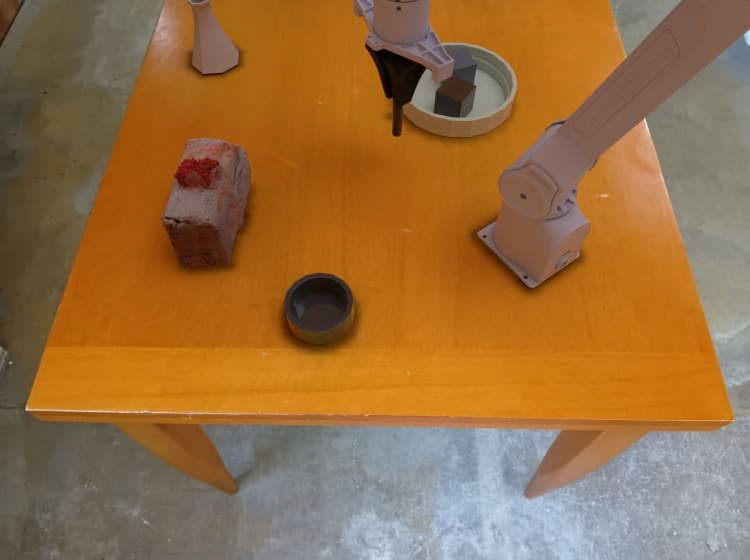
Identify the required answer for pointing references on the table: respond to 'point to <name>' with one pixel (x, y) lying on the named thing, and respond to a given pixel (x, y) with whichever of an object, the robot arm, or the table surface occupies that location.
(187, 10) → the table surface
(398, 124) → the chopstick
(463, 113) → the walnut block
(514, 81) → the bowl
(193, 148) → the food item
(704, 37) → the robot arm
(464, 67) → the slate block
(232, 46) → the flask
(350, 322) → the holder
